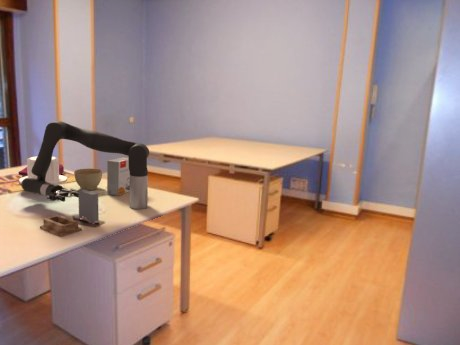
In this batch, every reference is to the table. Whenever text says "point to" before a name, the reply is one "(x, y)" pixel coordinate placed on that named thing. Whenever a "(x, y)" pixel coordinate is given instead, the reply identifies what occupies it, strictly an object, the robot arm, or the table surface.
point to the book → (24, 173)
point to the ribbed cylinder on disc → (51, 174)
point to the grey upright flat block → (88, 205)
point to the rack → (60, 225)
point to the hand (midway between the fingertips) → (72, 197)
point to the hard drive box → (118, 176)
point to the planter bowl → (88, 178)
